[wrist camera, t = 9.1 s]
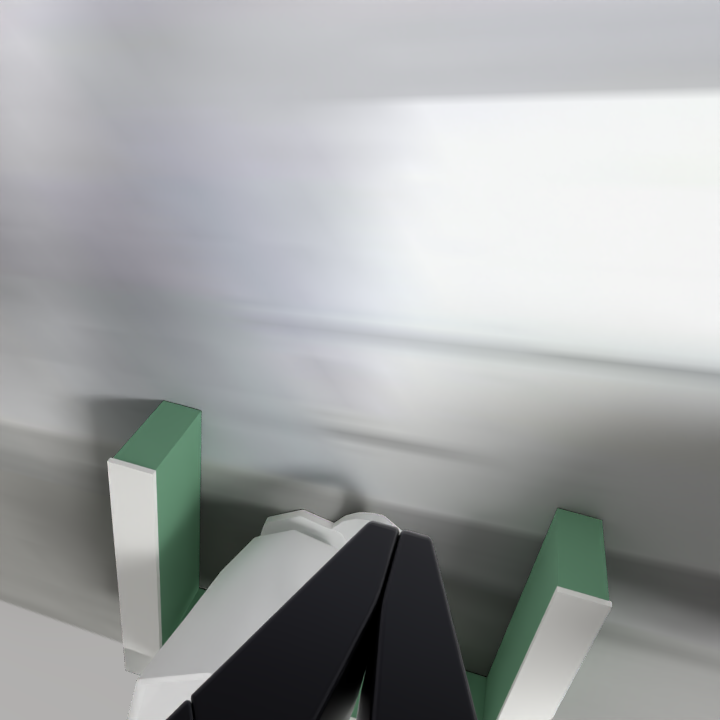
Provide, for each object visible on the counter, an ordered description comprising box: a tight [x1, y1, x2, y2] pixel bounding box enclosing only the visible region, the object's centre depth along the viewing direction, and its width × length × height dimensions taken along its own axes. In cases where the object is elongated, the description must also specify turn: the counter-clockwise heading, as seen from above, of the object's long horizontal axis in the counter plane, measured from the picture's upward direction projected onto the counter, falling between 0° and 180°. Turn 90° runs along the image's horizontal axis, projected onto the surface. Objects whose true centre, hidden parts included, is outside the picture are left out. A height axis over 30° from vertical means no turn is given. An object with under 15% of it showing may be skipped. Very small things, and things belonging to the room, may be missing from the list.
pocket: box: [107, 401, 612, 720], centre depth 25 cm, size 16×12×4 cm
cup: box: [127, 509, 402, 720], centre depth 23 cm, size 7×10×8 cm
